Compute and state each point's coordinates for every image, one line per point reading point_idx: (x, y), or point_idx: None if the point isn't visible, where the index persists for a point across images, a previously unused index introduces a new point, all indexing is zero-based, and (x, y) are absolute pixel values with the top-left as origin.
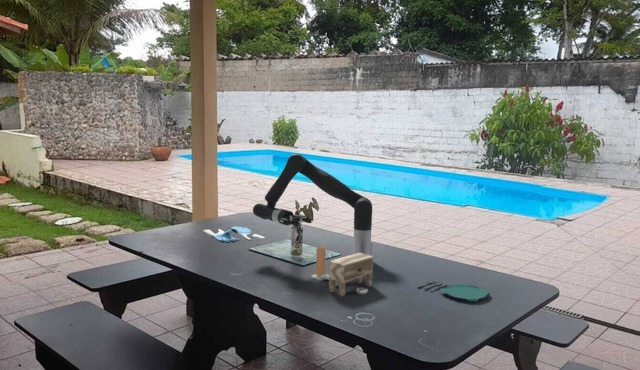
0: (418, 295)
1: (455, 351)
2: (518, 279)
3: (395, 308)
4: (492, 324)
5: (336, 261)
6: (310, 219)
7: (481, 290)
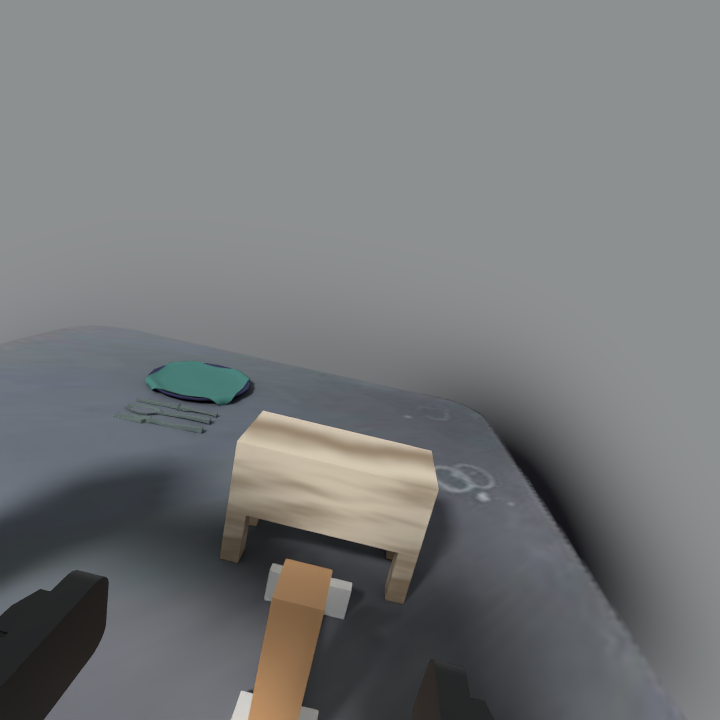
0: None
1: (428, 398)
2: (48, 337)
3: None
4: (316, 375)
5: (420, 471)
6: (103, 577)
7: (177, 366)
